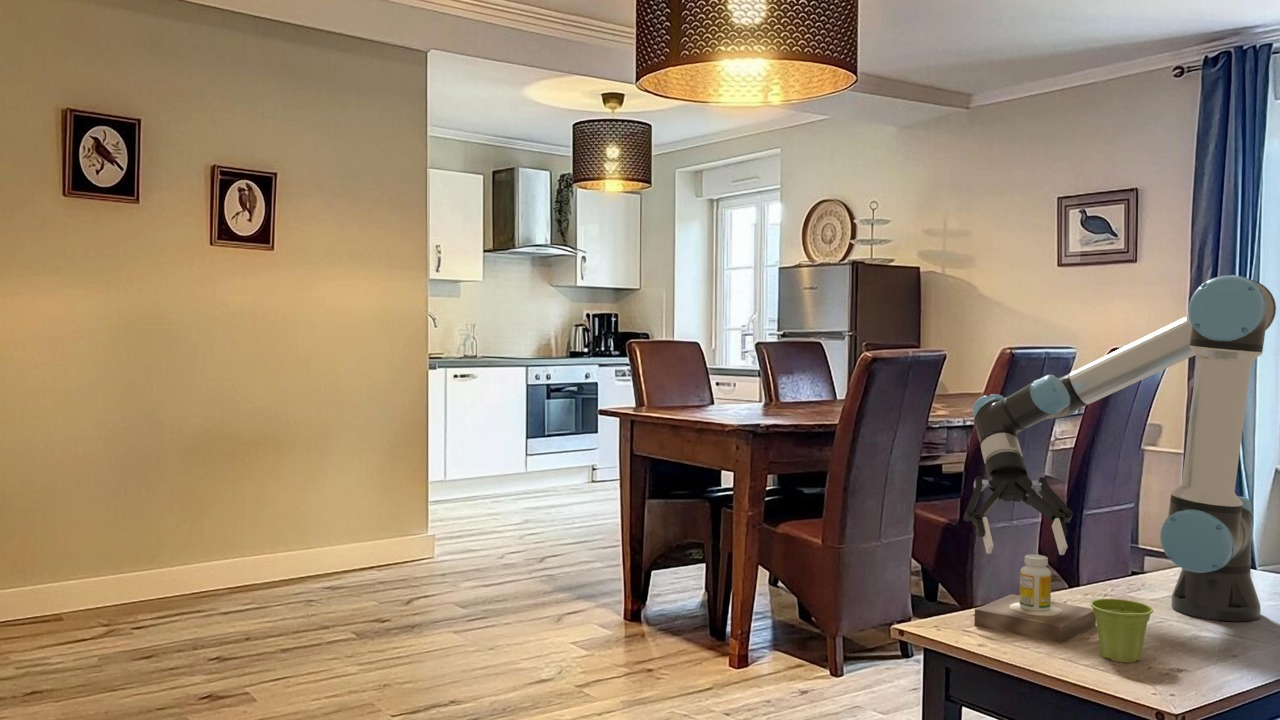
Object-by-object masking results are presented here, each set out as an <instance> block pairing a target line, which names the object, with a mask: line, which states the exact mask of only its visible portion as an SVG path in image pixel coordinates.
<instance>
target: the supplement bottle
mask: <svg viewBox="0 0 1280 720" xmlns="http://www.w3.org/2000/svg"><path fill="white" fill-rule="evenodd" d="M1048 559H1049V558H1048V556H1045V555H1041V554H1034V553H1033V554H1032V553H1031V554H1025V555H1024V564H1025V565H1023V566H1022V567H1021V568H1020V570H1019V571H1020V573H1019V596H1020V607H1021V608H1023V609H1025V610H1029V611H1038V612H1041V611H1048V610H1049V609H1050V605H1051V601H1052V599H1051V598H1052V597H1051V593H1052V571H1051V570H1050V569H1049V567H1047V566H1048V565H1049V560H1048Z"/></svg>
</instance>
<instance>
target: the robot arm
mask: <svg viewBox="0 0 1280 720" xmlns="http://www.w3.org/2000/svg"><path fill="white" fill-rule="evenodd" d="M1276 312H1277V304H1276V300H1275V297H1274V296H1273V293H1272V292H1271V291H1270V289H1269V288H1267V286H1265V285H1263V284H1262V283H1260V282H1259V281H1256V280H1254V279H1251V278H1248V277H1245V276H1242V275H1235V274H1232V275H1221V276H1216V277H1214V278H1211V279H1208V280H1207V281H1205V282H1204V283H1202V284H1201V285H1199V287H1198V288H1197V289H1196V290H1195V291H1194V293H1193V294H1192V295H1191V298H1190V300H1189V303H1188V311H1187V314H1186V316H1184V317H1182V318H1180V319H1178V320H1176V321H1173V322H1171V323H1170V324H1168V325H1166V326H1164V327H1161V328H1159V329H1157V330H1155V331H1154V332H1151V333H1149V334H1147V335H1145V336H1143V337H1141V338H1139V339H1137V340H1135V341H1133V342H1130V343H1128V344H1126V345H1125V346H1123V347H1120V348H1118V349H1117V350H1116V349H1115V351H1112V352H1110V353H1108V354H1107V355H1104V356H1102V357H1100V358H1098V359H1096V360H1094V361H1092V362H1090V363H1088V364H1085V365H1083V366H1081V367H1080V368H1077V369H1076V370H1073V371H1071V372H1070V373H1068V374H1066V375H1064V376H1061V377H1056V376H1055V375H1053V374H1047V375H1045V376H1042V377H1041V378H1039V379H1038V378H1037V379H1035V380H1033V381H1032V382H1031V383H1029V384H1027V385H1026V386H1024V387H1022V388H1021V389H1019V390H1017V391H1015V392H1013V393H1012V394H1010V395H1008V396H1006V397H1004V396H1003V395H1000V394H998V393H997V394H996V393H995V394H993V393H992V394H990V395H983V396H981V397H979V398H978V399H977V400H976V401H975V402H974V404H973V406H972V415H973V425H974V428H975V430H976V433H977V437H978V441H979V446H980V449H981V455H982V458H983V462H984V464H985V465H984V467H985V472H986V475H987V479H983V478H982V477H981V475H980V476H979V475H978V476H975V479H974V482H973V492H972V495H971V497H970V498H969V499H970V500H969V502H968V505H967V507H966V509H965V512H964V516H963V520H964V521H965V522H969V521H970V522H972V526H974V527H975V529H976V535H977V536H978V537H980V538H982V540H983V545H984V548H985V549H984V550H985V552H986V555H990V554H992V551H993V549H994V545H995V544H994V541H993V537H992V533H991V528H990V524H989V520H988V516H987V515H988V514H989V512H991V510H992V509H993V508H994V507H995V505H997V504H998V502H999V501H1000V500H1002V501H1004V502H1018V503H1019V502H1021V501H1022V502H1023V503H1024V504H1026V505H1029V506H1031V507H1032V508H1033V509H1035V510H1036V511H1038V512H1039V513H1040V514H1041V515H1043V516H1044V517H1045V518H1047V519H1048V520H1049V521H1051V522H1052V524H1051V528H1052V532H1053V535H1054V536H1053V537H1054V540H1055V543H1056V547H1057V550H1058V554H1059V556H1064V555H1065V553H1066V551H1067V549H1068V544H1067V540H1066V538H1067V536H1068V533H1069V531H1068V527H1067V524H1068V523H1070V522H1071V519H1072V517H1073V515H1074V512H1073V511H1072V510H1071V509H1070V508H1069V506H1068V505H1067V504H1066V503H1065V502H1064V501H1063V500H1062V499H1061V498H1060V497H1059V496H1058V494H1057V493H1056V492H1055V491H1054V490H1053V489H1052V488H1051V487H1050V486H1049V484H1048V482H1047V480H1046V478H1045V477H1044V476H1041V477H1039V478H1038V479H1036V480H1031V478H1030V477H1029V475H1028V471H1027V467H1026V464H1025V459H1024V457H1023V452H1022V448H1021V446H1020V442H1019V438H1018V433H1020V432H1022V431H1025V430H1026V429H1028V428H1030V427H1031V426H1032V427H1033V426H1034V425H1036V424H1038V423H1040V422H1042V421H1044V420H1049V419H1054V418H1055V419H1056V418H1066V417H1068V416H1069V417H1070V415H1073V414H1074V413H1076V412H1077V411H1078V410H1080V409H1083V408H1085V407H1086V406H1088V405H1090V404H1093V403H1094V402H1097V401H1099V400H1101V399H1104V398H1105V397H1108V396H1109V395H1111V394H1115V393H1116V392H1118V391H1121V390H1123V389H1125V388H1127V387H1130V386H1131V385H1133V384H1135V383H1138V382H1140V381H1142V380H1145V379H1147V378H1148V377H1151V376H1153V375H1155V374H1158V373H1160V372H1162V371H1164V370H1166V369H1168V368H1171V367H1173V366H1175V365H1176V364H1179V363H1181V362H1184V361H1185V360H1187V359H1190V358H1192V357H1194V356H1196V358H1197V360H1196V366H1195V375H1194V382H1193V391H1192V399H1191V406H1190V407H1191V408H1190V415H1189V423H1188V429H1187V431H1188V432H1187V440H1186V446H1185V455H1184V456H1185V457H1184V461H1183V462H1184V463H1183V471H1182V479H1181V483H1180V485H1179V486H1178V487H1176V488H1175V489H1173V490H1172V491H1171V493H1170V499H1169V500H1170V501H1169V507H1168V508H1169V509H1168V514H1167V515H1168V517H1167V518H1166V519H1165V521H1164V522H1163V524H1162V527H1161V530H1160V535H1159V536H1160V537H1159V539H1160V544H1161V547H1162V550H1163V552H1164V554H1165V555H1166V557H1167V558H1168V559H1169V560H1170V561H1171V562H1172V563H1173V564H1175V565H1176V566H1177V567H1179V568H1180V569H1181V571H1180V574H1179V576H1178V579H1177V580H1176V584H1175V587H1174V589H1173V591H1172V594H1171V608H1172V609H1174V610H1175V611H1177V612H1180V613H1182V614H1185V615H1189V616H1192V617H1197V618H1202V619H1208V620H1214V621H1215V620H1216V621H1225V622H1249V621H1256V620H1259V619H1260V618H1261V603H1260V600H1259V597H1258V593H1257V591H1256V589H1255V585H1254V582H1253V579H1252V576H1251V575H1252V572H1251V567H1252V566H1251V565H1252V526H1253V525H1252V520H1253V519H1252V517H1253V516H1254V512H1253V509H1252V506H1253V505H1252V501H1251V500H1250V499H1249V498H1248V497H1246V496H1238V495H1237V494H1236V492H1235V491H1236V484H1237V483H1236V482H1237V476H1238V475H1237V474H1238V469H1239V468H1238V467H1239V460H1240V453H1241V445H1242V436H1243V429H1244V422H1245V413H1246V406H1247V399H1248V391H1249V383H1250V376H1251V375H1250V374H1251V368H1252V363H1253V361H1255V360H1256V359H1257V358H1259V357H1260V356H1262V355H1263V350H1264V344H1265V335H1266V331H1267V330H1268V329H1269V328H1270V327H1271V325H1272V324H1273V321H1274V319H1275V317H1276V314H1277V313H1276ZM986 488H988V490H990V492H992V493H991V494H990V496H989V497H988V498H987V499H986V501H985V502H984V503H983V505H982V506H981V507H980V508H979V509H978V510H977V512H975V511H974V510H975V508H976V506H977V503H978V500H979V498H980V495H981V492H983V491H985V489H986ZM1037 493H1039V495H1038V494H1037ZM986 516H987V517H986Z"/></svg>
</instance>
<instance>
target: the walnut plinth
mask: <svg viewBox="0 0 1280 720" xmlns="http://www.w3.org/2000/svg"><path fill="white" fill-rule="evenodd" d="M974 626H975V627H981V628H985V629H989V628H990V629H991V630H996V631H1001V632H1004V631H1005V633H1009V634H1013V635H1020V636H1024V637H1029V638H1032V639H1039V640H1043V641H1047V642H1052V643H1056V644H1057V643H1058V644H1062V645H1063V644H1064V643H1066V642H1067V641H1070V640H1072V639H1074V638H1076V637H1077V636H1080V635H1081V634H1083V633H1085V632H1087V631H1088V630H1091V629H1092V628H1094V627H1097V624H1096V617H1095V615H1094V611H1093V608H1092V607H1090V608H1089V607H1084V606H1078V605H1074V604H1067V603H1062V602H1058V601H1052V600H1051V605H1050V609H1049V610H1048V611H1041V612H1038V611H1029V610H1025V609H1023V608H1021V607H1020V594H1019V595H1018V594H1013V593H1012V594H1009V595H1006V596H1004V597H1001V598H998V599H997V600H994V601H991V602H989V603H987V604H984V605H981V606H979V607H977V608H974Z"/></svg>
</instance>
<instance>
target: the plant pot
mask: <svg viewBox="0 0 1280 720" xmlns="http://www.w3.org/2000/svg"><path fill="white" fill-rule="evenodd" d="M1089 605H1090V608H1091V609H1093V611H1094V615H1095V617H1096V631H1097V639H1098V645H1099V646H1098V648H1099V654H1100V656H1101V658H1104V659H1110V660H1111V661H1114V662H1115V663H1116V662H1117V663H1126V664H1132V663H1135V662H1136V661H1137V662H1138V661H1141V659H1142V654H1143V647H1144V642H1145V635H1146V631H1147V624H1148V622H1149V621H1150V618H1151V614H1153V613H1154V609H1153V607H1152V606H1150V605H1148V604H1145V603H1142V602H1138V601H1135V600H1134V601H1133V600H1127V599H1121V598H1120V599H1119V598H1101V599H1100V598H1099V599H1094V600H1092V601H1090V603H1089Z"/></svg>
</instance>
